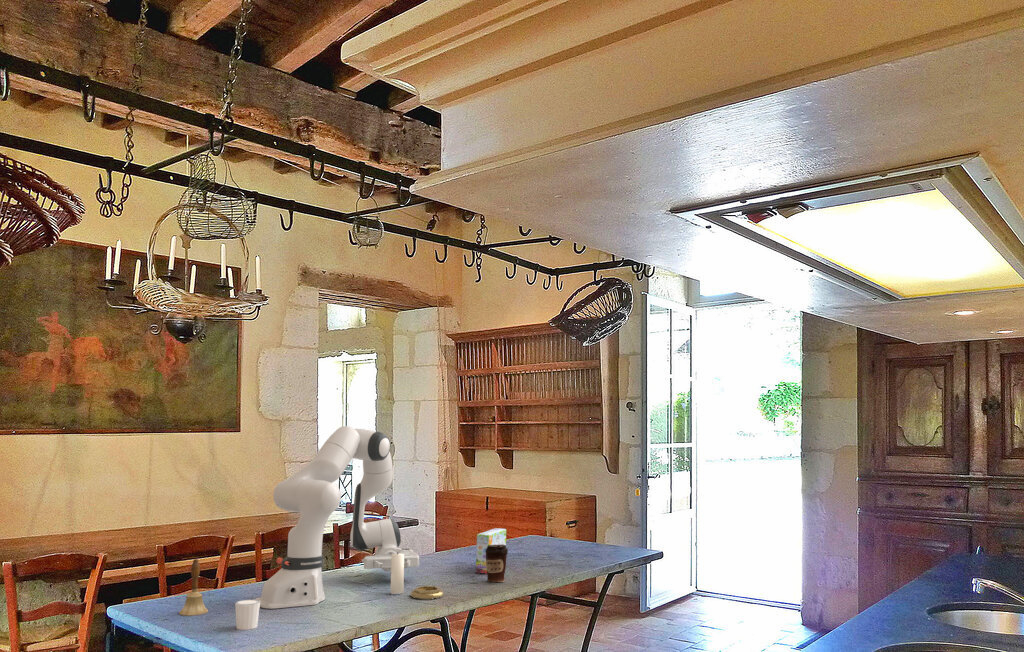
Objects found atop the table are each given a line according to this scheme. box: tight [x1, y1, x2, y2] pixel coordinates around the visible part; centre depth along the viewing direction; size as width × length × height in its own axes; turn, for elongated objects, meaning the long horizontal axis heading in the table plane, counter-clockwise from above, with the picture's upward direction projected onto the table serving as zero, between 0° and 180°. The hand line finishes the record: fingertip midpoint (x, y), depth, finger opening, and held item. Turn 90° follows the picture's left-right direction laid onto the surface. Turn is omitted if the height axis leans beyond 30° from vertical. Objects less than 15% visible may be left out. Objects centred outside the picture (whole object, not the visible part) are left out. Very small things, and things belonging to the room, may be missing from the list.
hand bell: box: [178, 558, 209, 617], centre depth 246 cm, size 8×8×16 cm
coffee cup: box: [485, 544, 509, 583], centre depth 297 cm, size 9×8×13 cm
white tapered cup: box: [234, 599, 261, 631], centre depth 229 cm, size 7×7×7 cm
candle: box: [390, 552, 405, 594], centre depth 275 cm, size 4×4×14 cm
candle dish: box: [410, 585, 445, 600], centre depth 270 cm, size 11×11×2 cm
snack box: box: [475, 527, 507, 575], centre depth 322 cm, size 21×6×15 cm, turn 161°
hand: (393, 565), depth 287 cm, fingers open, 8 cm apart
